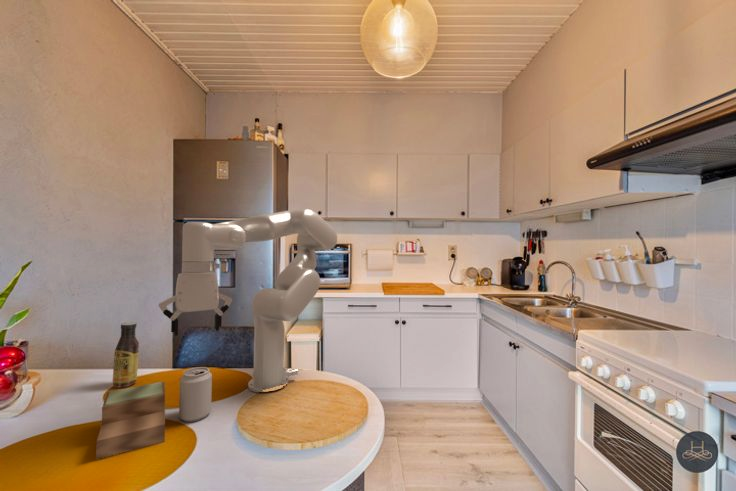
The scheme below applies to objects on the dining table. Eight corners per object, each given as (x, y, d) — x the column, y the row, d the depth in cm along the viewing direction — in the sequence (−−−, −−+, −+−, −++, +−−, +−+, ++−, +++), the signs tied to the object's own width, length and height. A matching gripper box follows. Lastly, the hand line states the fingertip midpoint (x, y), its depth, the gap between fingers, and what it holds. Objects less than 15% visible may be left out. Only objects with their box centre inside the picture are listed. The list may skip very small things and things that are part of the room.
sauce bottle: (107, 388, 99) (109, 325, 99) (125, 380, 105) (127, 320, 105) (125, 389, 98) (127, 326, 98) (142, 381, 104) (144, 321, 104)
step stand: (163, 411, 85) (164, 380, 85) (164, 441, 72) (165, 405, 72) (106, 424, 79) (107, 391, 79) (96, 460, 65) (97, 420, 65)
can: (197, 425, 79) (198, 377, 79) (171, 421, 80) (173, 374, 81) (217, 410, 86) (218, 366, 86) (193, 407, 88) (194, 364, 88)
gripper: (230, 266, 92) (229, 325, 92) (159, 268, 82) (158, 333, 82) (235, 268, 86) (234, 330, 85) (159, 269, 76) (158, 340, 76)
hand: (196, 332), depth 84 cm, fingers open, 9 cm apart
